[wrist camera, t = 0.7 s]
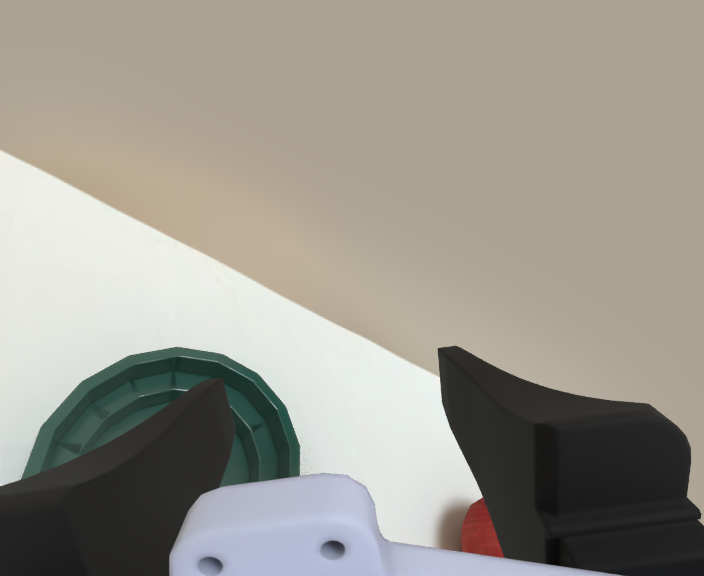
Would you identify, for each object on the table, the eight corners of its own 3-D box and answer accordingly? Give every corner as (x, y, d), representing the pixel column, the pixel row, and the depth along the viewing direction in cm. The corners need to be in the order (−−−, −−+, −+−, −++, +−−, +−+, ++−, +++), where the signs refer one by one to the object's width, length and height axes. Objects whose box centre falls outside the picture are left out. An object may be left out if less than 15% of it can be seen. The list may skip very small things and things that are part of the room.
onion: (430, 501, 30) (510, 475, 25) (493, 506, 32) (579, 483, 27) (443, 602, 27) (539, 599, 21) (512, 600, 29) (616, 597, 23)
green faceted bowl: (129, 696, 19) (137, 713, 15) (-25, 476, 20) (-45, 450, 17) (312, 488, 27) (342, 472, 24) (193, 345, 29) (206, 312, 25)
